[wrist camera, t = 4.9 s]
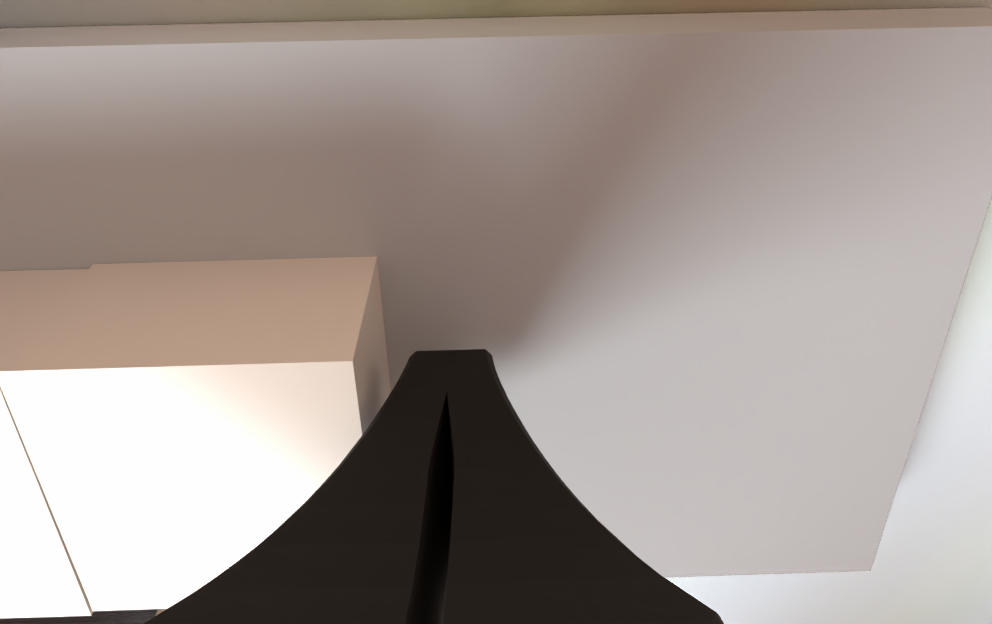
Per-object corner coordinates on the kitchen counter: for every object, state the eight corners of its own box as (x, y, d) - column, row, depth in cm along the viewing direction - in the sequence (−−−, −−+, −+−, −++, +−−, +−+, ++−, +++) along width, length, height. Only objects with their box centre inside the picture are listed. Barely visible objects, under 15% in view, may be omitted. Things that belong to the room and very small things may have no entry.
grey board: (986, 7, 12) (1046, 24, 11) (841, 518, 18) (870, 570, 17) (-44, 29, 12) (-106, 49, 11) (134, 540, 18) (107, 595, 16)
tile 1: (377, 256, 13) (353, 360, 10) (399, 470, 15) (383, 601, 12) (93, 264, 12) (-6, 371, 10) (159, 477, 15) (93, 611, 12)
